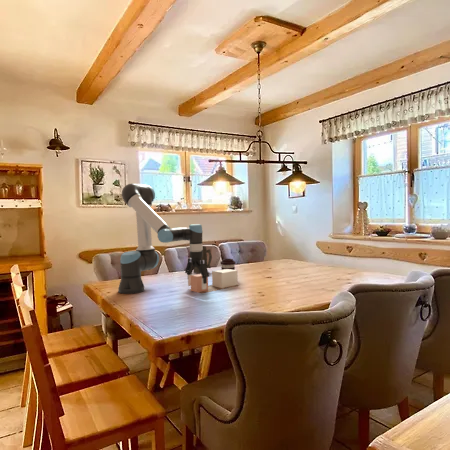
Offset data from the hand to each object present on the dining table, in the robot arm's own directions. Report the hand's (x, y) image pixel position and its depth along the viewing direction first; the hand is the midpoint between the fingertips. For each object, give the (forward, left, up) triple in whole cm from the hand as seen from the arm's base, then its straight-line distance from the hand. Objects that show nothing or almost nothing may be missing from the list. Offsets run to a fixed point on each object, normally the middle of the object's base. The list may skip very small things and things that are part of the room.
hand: (197, 287), depth 207 cm
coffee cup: (+33, +10, -3) cm, 35 cm away
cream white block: (+22, 0, -2) cm, 22 cm away
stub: (+2, 0, -2) cm, 3 cm away
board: (+13, 0, -3) cm, 13 cm away
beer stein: (+45, +53, -3) cm, 70 cm away
